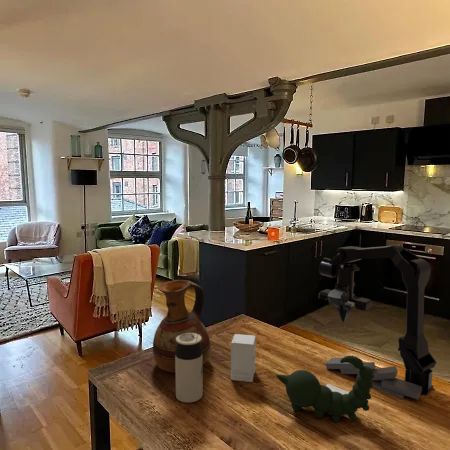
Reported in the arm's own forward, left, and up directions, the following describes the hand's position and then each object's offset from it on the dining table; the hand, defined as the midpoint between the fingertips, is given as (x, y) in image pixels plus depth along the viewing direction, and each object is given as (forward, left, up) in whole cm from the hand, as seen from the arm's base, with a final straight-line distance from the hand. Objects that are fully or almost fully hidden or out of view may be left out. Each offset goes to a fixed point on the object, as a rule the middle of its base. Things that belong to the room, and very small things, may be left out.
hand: (343, 321), depth 133 cm
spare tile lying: (-14, +27, -12) cm, 33 cm away
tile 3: (-14, +11, -11) cm, 21 cm away
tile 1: (-2, +13, -11) cm, 17 cm away
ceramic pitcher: (+34, +49, -12) cm, 61 cm away
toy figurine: (-14, +37, -12) cm, 42 cm away
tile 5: (-17, +12, -12) cm, 24 cm away
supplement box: (+14, +39, -12) cm, 43 cm away
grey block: (-20, +12, -10) cm, 26 cm away
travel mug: (+17, +59, -12) cm, 63 cm away
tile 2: (-7, +12, -11) cm, 18 cm away
